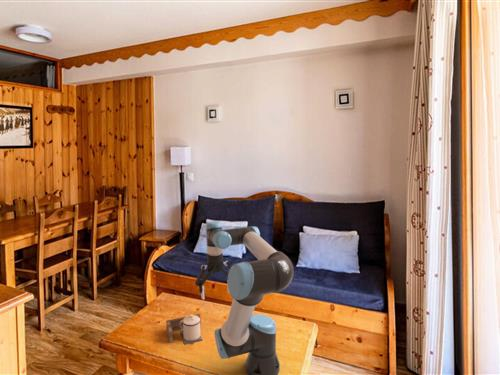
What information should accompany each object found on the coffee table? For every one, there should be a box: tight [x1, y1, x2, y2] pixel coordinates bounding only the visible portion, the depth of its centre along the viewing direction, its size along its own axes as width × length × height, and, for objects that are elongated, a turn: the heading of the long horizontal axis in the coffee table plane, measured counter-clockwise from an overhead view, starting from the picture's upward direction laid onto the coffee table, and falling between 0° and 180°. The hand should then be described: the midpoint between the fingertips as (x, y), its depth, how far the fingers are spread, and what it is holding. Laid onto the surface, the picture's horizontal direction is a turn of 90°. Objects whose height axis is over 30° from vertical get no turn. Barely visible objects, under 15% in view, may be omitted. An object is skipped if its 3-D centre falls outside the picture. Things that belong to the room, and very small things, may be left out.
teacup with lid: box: [180, 314, 201, 341], centre depth 167 cm, size 12×9×12 cm
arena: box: [165, 313, 203, 346], centre depth 168 cm, size 16×18×6 cm
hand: (216, 295), depth 159 cm, fingers open, 13 cm apart
